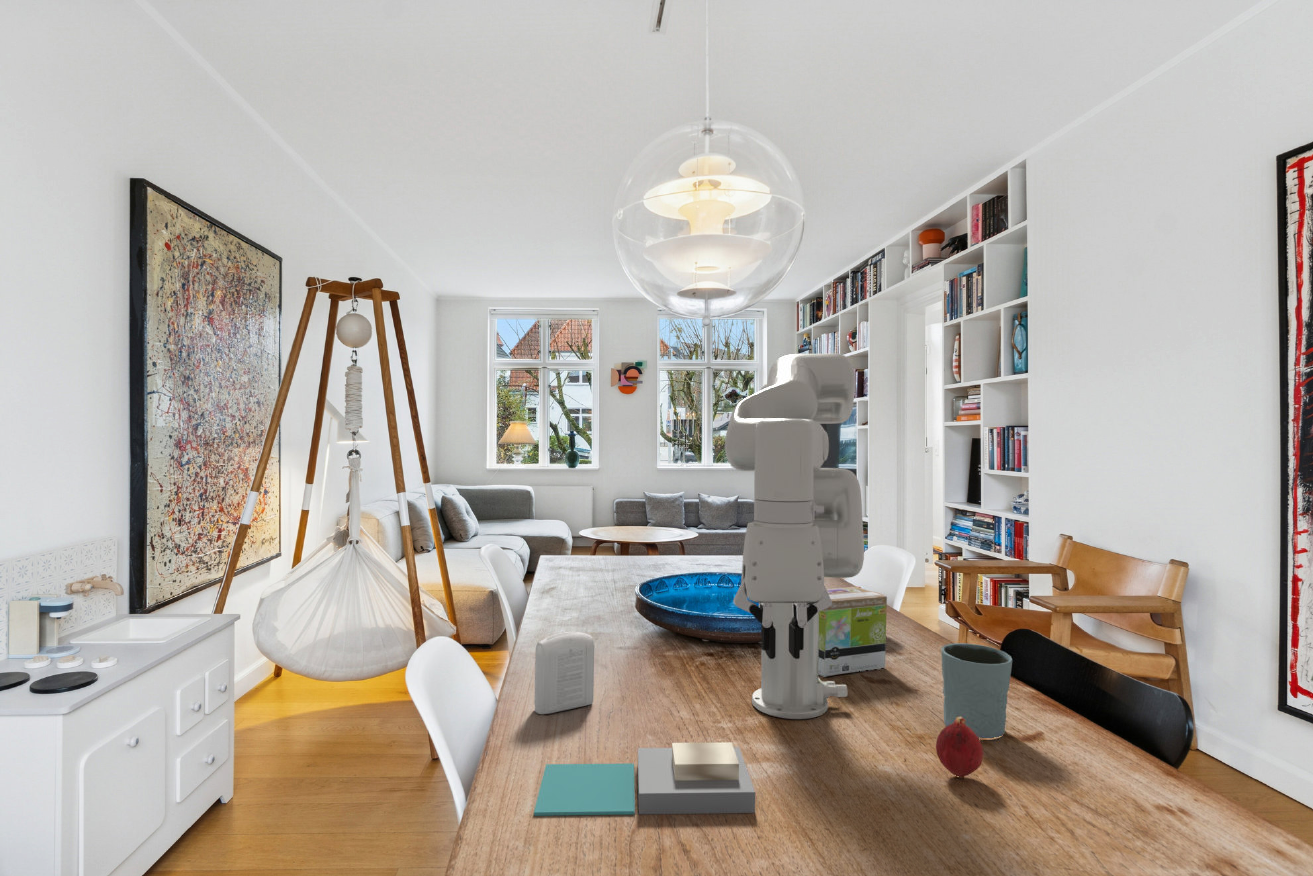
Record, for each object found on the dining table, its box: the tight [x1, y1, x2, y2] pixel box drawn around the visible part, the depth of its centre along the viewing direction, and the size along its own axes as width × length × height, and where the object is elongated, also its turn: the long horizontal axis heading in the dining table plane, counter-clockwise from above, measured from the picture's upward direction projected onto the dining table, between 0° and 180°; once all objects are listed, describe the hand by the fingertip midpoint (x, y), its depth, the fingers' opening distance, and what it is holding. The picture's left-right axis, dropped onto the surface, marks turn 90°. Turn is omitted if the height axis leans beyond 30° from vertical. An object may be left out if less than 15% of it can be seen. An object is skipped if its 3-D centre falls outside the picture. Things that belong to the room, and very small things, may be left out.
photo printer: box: [533, 631, 595, 715], centre depth 114 cm, size 10×4×12 cm, turn 123°
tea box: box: [818, 586, 888, 678], centre depth 136 cm, size 15×10×15 cm, turn 114°
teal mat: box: [533, 762, 636, 817], centre depth 87 cm, size 12×12×1 cm
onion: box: [935, 716, 984, 778], centre depth 91 cm, size 6×6×8 cm
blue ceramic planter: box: [940, 642, 1013, 738], centre depth 107 cm, size 10×10×12 cm
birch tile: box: [671, 741, 739, 780], centre depth 88 cm, size 8×6×2 cm
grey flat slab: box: [637, 746, 756, 815], centre depth 88 cm, size 14×12×2 cm
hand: (782, 654), depth 88 cm, fingers open, 2 cm apart
